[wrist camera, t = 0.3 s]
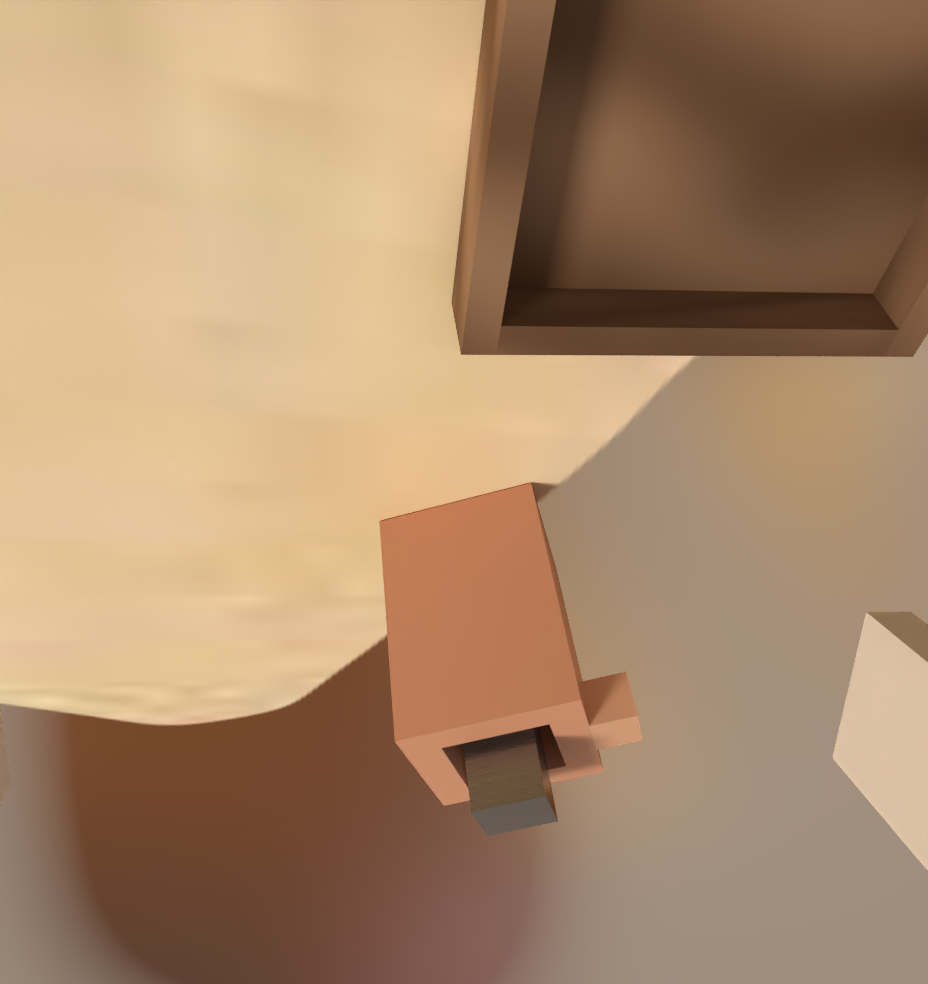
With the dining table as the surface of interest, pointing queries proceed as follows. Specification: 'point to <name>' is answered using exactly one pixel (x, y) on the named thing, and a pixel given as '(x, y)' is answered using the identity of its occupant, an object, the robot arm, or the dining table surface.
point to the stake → (509, 781)
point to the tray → (697, 179)
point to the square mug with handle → (488, 643)
